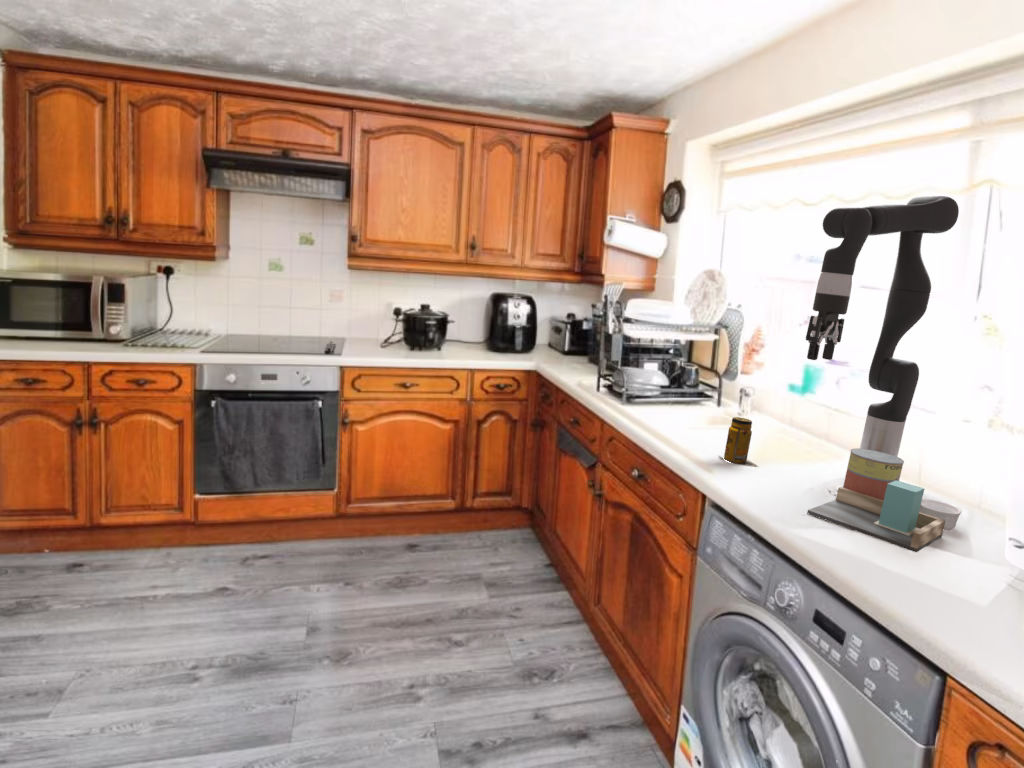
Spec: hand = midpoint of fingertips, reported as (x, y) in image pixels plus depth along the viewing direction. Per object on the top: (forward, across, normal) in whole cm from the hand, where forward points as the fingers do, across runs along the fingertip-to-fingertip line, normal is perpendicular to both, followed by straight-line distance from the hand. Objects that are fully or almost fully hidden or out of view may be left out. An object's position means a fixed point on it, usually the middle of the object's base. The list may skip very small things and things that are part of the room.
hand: (819, 359), depth 164 cm
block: (+31, -9, -27) cm, 42 cm away
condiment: (+32, +4, +18) cm, 37 cm away
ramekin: (+32, +6, -30) cm, 45 cm away
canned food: (+32, +4, -16) cm, 36 cm away
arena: (+32, -11, -23) cm, 41 cm away
